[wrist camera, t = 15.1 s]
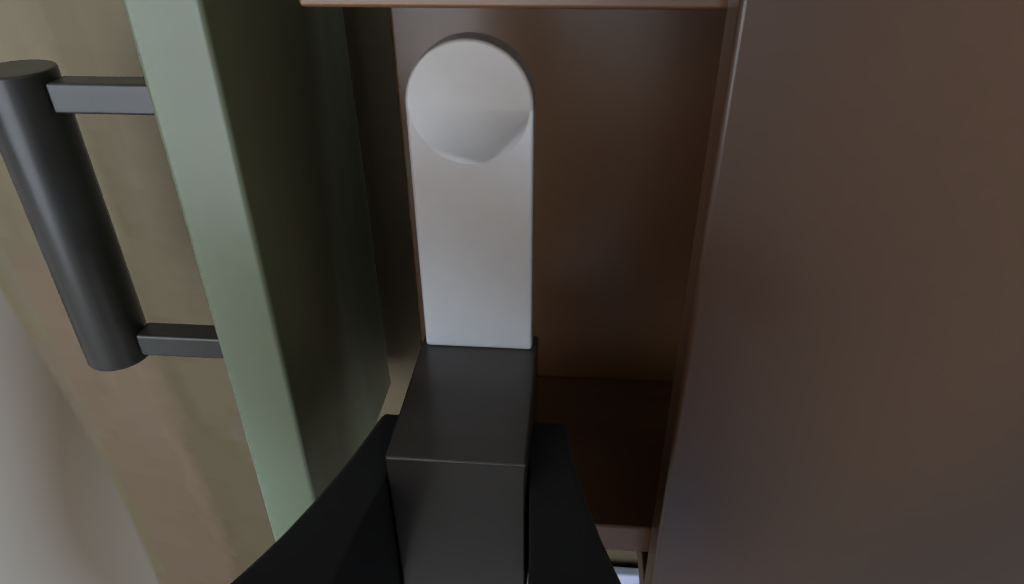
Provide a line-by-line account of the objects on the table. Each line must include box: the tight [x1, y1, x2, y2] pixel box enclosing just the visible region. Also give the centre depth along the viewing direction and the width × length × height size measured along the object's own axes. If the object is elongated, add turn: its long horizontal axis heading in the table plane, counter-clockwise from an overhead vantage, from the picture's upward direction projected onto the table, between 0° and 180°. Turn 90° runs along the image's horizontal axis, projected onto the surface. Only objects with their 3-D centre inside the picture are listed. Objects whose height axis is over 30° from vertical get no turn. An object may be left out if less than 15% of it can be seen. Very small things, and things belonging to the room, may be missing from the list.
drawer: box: [0, 0, 728, 552], centre depth 15 cm, size 19×13×6 cm
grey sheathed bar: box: [385, 32, 538, 584], centre depth 12 cm, size 9×2×3 cm, turn 0°
